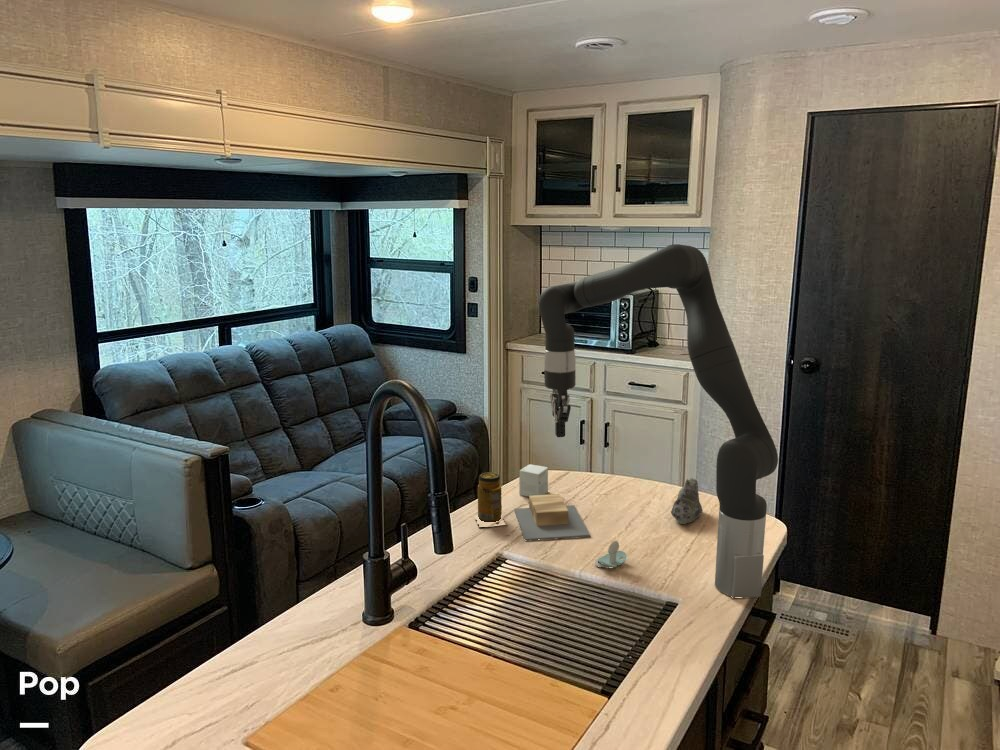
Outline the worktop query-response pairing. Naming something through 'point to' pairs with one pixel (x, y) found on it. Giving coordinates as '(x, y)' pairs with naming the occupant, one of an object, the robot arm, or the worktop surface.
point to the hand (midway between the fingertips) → (560, 436)
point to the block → (548, 509)
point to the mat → (551, 526)
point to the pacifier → (612, 557)
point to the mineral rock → (687, 503)
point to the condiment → (489, 497)
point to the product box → (533, 480)
